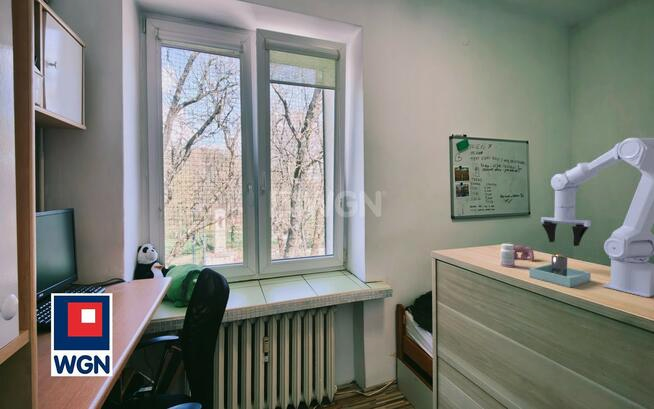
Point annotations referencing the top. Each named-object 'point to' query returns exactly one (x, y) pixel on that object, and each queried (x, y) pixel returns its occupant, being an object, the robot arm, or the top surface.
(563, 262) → the dark grey bottle
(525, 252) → the video game controller
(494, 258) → the top surface
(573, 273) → the tray
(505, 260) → the pill bottle
